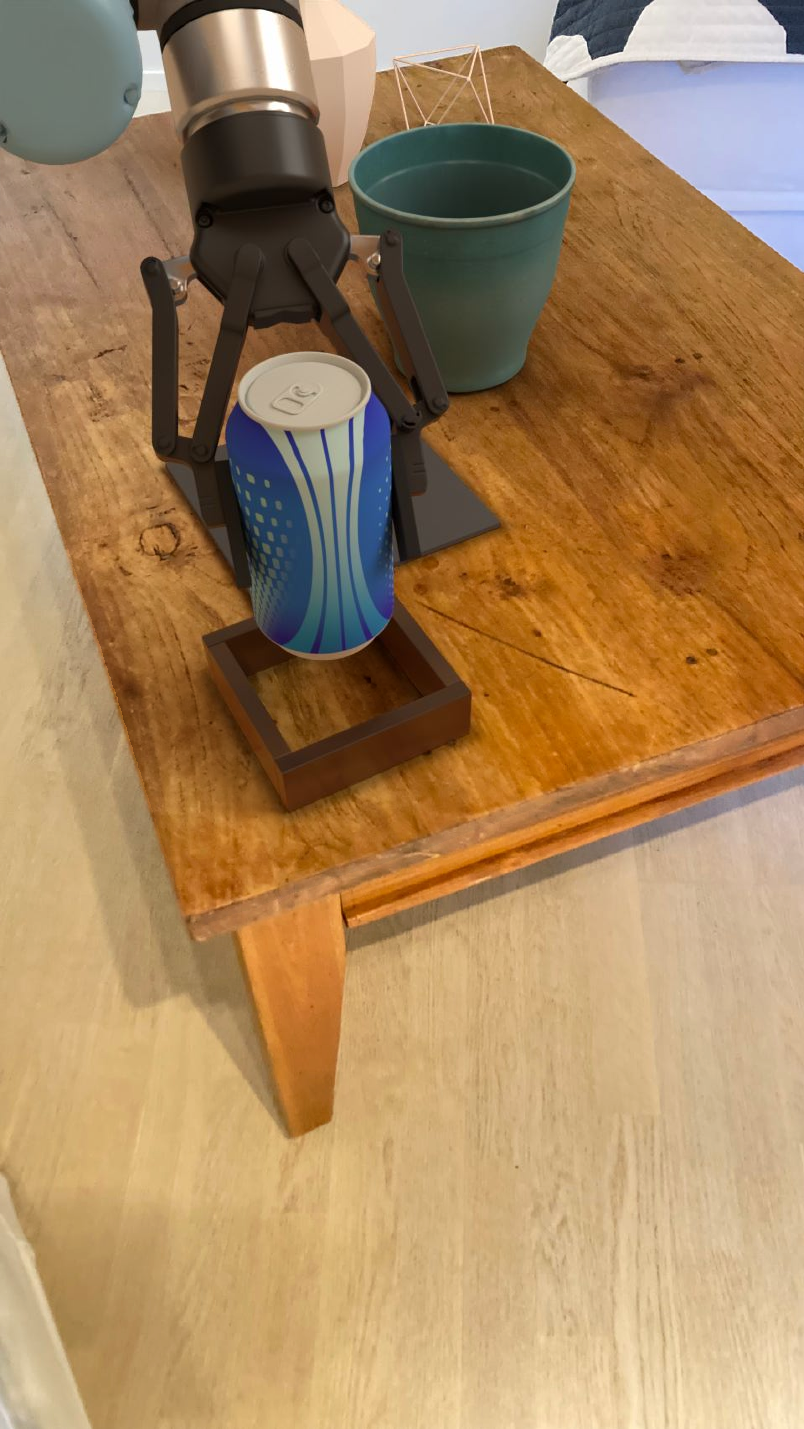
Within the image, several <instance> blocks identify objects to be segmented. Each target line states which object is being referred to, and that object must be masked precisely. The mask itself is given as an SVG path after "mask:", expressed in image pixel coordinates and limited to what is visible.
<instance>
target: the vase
mask: <svg viewBox="0 0 804 1429" xmlns="http://www.w3.org/2000/svg"><path fill="white" fill-rule="evenodd" d="M299 4H300V11H301V17H302V22H303V27H304V32H305V36H306V41H307V46H308V51H309V57H310V62H311V68H312V73H313V78H314V84H315V89H316V95H317V100H318V105H319V111H320V118H319V123H318V125H317V127H318V128H319V129H320V130H321V131H322V133H323V136H324V141H325V147H326V152H327V158H328V164H329V170H330V176H331V181H332V187H333V188H337V187H340V186H342V185H343V184H345V183H347V182H349V181H348V170H349V166H350V164H351V162H352V160H353V159H354V158H355V157H356V155H357V154H358V153H360V152H361V149H362V146H363V143H364V140H365V137H366V134H367V130H368V125H369V120H370V114H371V110H372V105H373V100H374V94H375V91H376V90H375V89H376V76H377V38H376V36H377V35H376V33H375V31H374V30H373V29H372V28H371V26H369V25H368V23H367V22H365V21H364V20H363V19H362V18H360V17H359V16H358V15H357V14H355V13H354V12H353V11H352V10H350V8H348V7H346V6H345V5H344V4H343V3H341V2H340V1H339V0H299Z"/></svg>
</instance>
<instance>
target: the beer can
mask: <svg viewBox="0 0 804 1429" xmlns="http://www.w3.org/2000/svg"><path fill="white" fill-rule="evenodd" d="M236 398H237V400H236V402H235V404H234V405H233V408H232V409H231V412H230V414H229V415H228V418H227V420H226V423H225V429H224V437H225V438H224V440H225V444H226V447H227V453H228V459H229V465H230V471H231V475H232V480H233V483H234V489H235V494H236V500H237V505H238V510H239V516H240V521H241V526H242V532H243V537H244V543H245V548H246V553H247V559H248V564H249V569H250V575H251V580H252V587H250V594H251V598H250V600H251V606H252V611H253V612H252V613H253V617H255V620H256V622H257V624H258V626H259V628H260V630H261V631H262V632H263V633H264V634H265V635H266V636H267V637H268V638H269V639H270V640H271V641H273V642H274V643H276V644H277V645H279V646H280V647H282V648H283V649H284V650H286V651H287V652H289V653H291V654H293V655H296V656H297V657H299V658H302V659H306V660H311V661H312V660H313V661H332V660H339V659H343V658H346V657H349V656H351V655H354V654H356V653H358V652H360V651H362V650H363V649H364V648H366V647H367V646H368V645H370V644H371V643H372V642H373V641H374V640H375V638H376V637H378V636H377V635H378V634H379V633H380V632H381V631H382V630H383V629H384V628H385V627H386V625H387V624H388V622H389V620H390V618H391V616H392V613H393V608H394V594H395V580H394V578H395V576H394V575H395V574H394V567H393V526H392V479H391V431H390V422H389V417H388V414H387V412H386V410H385V408H384V406H383V405H382V404H381V402H380V401H379V400H378V398H377V397H376V396H375V395H374V393H373V392H372V391H371V384H370V380H369V378H368V376H367V374H366V373H365V371H364V370H363V369H362V368H361V367H360V366H358V365H357V364H356V363H354V362H352V361H350V360H348V359H346V358H344V357H341V356H340V355H339V354H338V355H337V354H334V353H329V352H322V351H296V352H295V351H294V352H289V353H283V354H279V355H275V356H273V357H270V358H267V359H265V360H262V361H261V362H259V363H257V364H256V365H254V366H253V367H251V368H250V369H249V370H248V371H246V372H245V374H244V375H243V376H242V377H241V379H240V381H239V383H238V386H237V390H236Z"/></svg>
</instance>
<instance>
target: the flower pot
mask: <svg viewBox="0 0 804 1429" xmlns="http://www.w3.org/2000/svg"><path fill="white" fill-rule="evenodd" d="M435 124H436V125H429V124H428V125H426V126H424V125H423V126H418V127H413V128H409V130H407V129H406V130H405V129H404V130H401V131H398V132H395V133H392V134H389V135H387V136H384V137H382V138H380V139H378V140H375V141H374V142H372V143H370V144H369V145H367V146H366V147H364V148H363V149H362V150H360V152H359V153H358V154H357V155H356V157H355V158H354V159H353V160H352V162H351V164H350V166H349V170H348V181H347V182H348V186H349V189H350V191H351V193H352V197H353V198H352V200H353V206H354V212H355V218H356V222H357V228H358V233H359V234H358V235H377V236H380V235H381V233H382V232H383V230H385V229H387V228H395V229H397V230H398V231H399V232H400V233H401V235H402V239H403V273H404V276H405V279H406V281H407V284H408V287H409V290H410V292H411V295H412V298H413V301H414V303H415V306H416V309H417V312H418V314H419V317H420V320H421V323H422V325H423V328H424V331H425V334H426V336H427V339H428V342H429V345H430V347H431V350H432V353H433V356H434V358H435V361H436V364H437V367H438V369H439V372H440V375H441V378H442V380H443V383H444V386H445V389H446V391H447V393H472V392H477V391H478V392H479V391H483V390H487V389H491V388H495V387H496V386H500V385H502V384H504V383H505V382H507V381H509V380H511V379H512V378H513V377H514V376H515V375H517V374H518V373H519V372H520V371H521V370H522V368H523V366H524V365H525V363H526V362H525V361H526V359H527V349H528V344H529V341H530V339H531V337H532V335H533V332H534V330H535V327H536V325H537V322H538V321H539V318H540V316H541V314H542V311H543V309H544V307H545V305H546V303H547V300H548V298H549V295H550V292H551V289H552V287H553V284H554V281H555V277H556V274H557V269H558V265H559V260H560V255H561V251H562V250H561V249H562V245H563V238H564V233H565V226H566V219H567V217H568V213H569V208H570V200H571V195H572V190H573V188H574V186H575V183H576V178H577V167H576V163H575V161H574V158H573V156H572V155H571V154H570V153H569V152H568V151H567V150H566V149H565V148H564V147H563V146H562V145H560V144H559V143H557V142H556V141H554V140H553V139H550V138H548V137H546V136H544V135H541V134H539V133H536V132H533V131H531V130H528V129H524V128H520V127H516V126H510V125H505V124H500V123H499V124H498V123H494V124H492V123H490V122H489V123H487V122H447V123H440V124H437V123H435ZM366 280H367V283H368V287H369V290H370V293H371V295H372V296H371V297H372V298H373V301H374V303H375V306H376V308H377V310H378V313H379V315H380V317H381V320H382V322H383V324H384V327H385V329H386V332H387V335H388V337H389V340H390V342H391V345H392V349H393V358H394V362H395V365H396V368H397V369H398V370H399V371H400V373H401V374H402V375H403V376H405V377H406V375H405V372H404V370H403V367H402V364H401V361H400V359H399V356H398V353H397V350H396V348H395V345H394V342H393V340H392V337H391V334H390V331H389V329H388V326H387V323H386V321H385V318H384V315H383V312H382V310H381V307H380V304H379V301H378V298H377V294H376V289H375V281H370V280H368V279H366Z"/></svg>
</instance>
